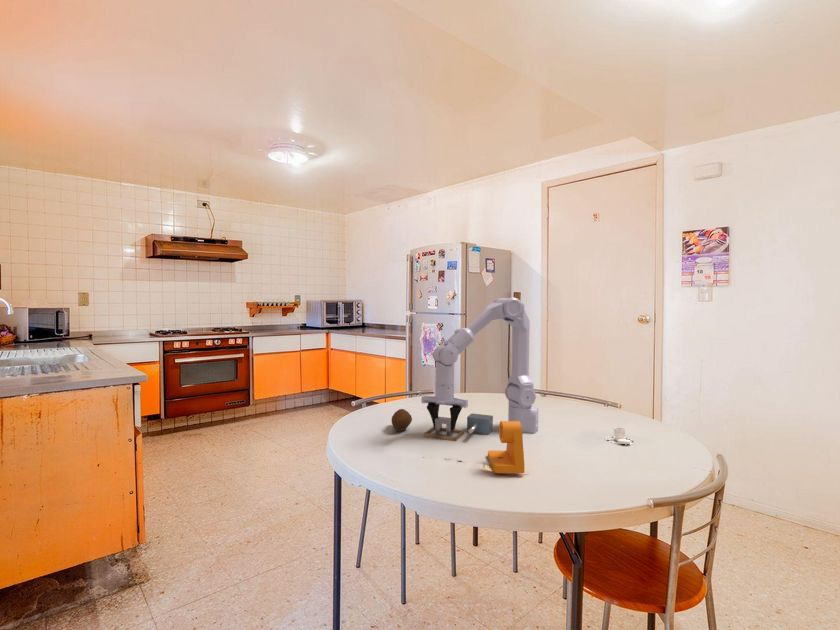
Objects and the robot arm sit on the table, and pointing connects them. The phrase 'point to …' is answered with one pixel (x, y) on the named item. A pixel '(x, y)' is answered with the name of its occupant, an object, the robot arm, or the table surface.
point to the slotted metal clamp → (438, 425)
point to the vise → (479, 424)
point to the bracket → (509, 449)
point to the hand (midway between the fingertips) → (444, 428)
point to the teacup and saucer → (620, 436)
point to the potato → (401, 419)
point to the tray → (427, 434)
